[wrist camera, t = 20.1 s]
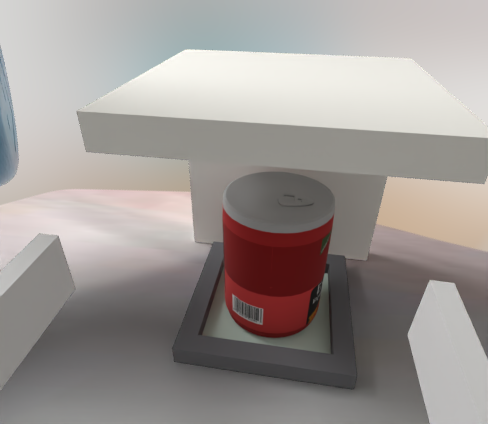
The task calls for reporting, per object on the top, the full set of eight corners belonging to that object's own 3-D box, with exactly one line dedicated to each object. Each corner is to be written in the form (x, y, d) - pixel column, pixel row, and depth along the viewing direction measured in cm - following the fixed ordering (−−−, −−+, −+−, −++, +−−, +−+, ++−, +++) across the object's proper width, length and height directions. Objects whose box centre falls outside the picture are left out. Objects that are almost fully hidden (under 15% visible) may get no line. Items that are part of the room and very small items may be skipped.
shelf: (392, 409, 25) (502, 138, 15) (136, 368, 27) (76, 111, 17) (365, 251, 39) (410, 58, 29) (198, 233, 41) (185, 49, 31)
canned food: (329, 336, 29) (352, 221, 23) (228, 346, 28) (226, 228, 23) (304, 271, 36) (318, 168, 30) (221, 277, 35) (218, 172, 29)
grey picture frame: (353, 389, 26) (356, 376, 25) (174, 361, 28) (172, 348, 27) (342, 267, 37) (344, 255, 36) (214, 253, 38) (213, 241, 38)
